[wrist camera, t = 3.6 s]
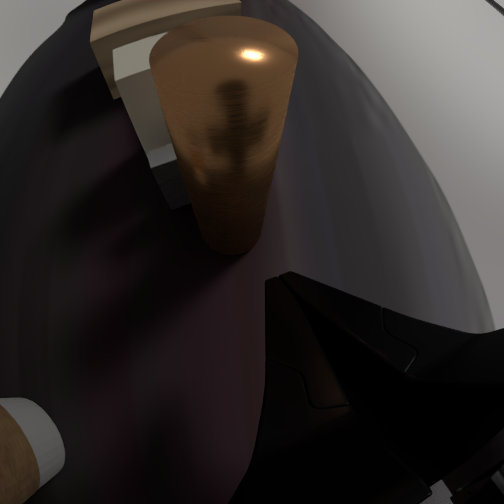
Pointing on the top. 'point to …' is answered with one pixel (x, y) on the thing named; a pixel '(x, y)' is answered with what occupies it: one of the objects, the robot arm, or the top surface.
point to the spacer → (141, 92)
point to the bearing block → (146, 24)
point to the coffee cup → (26, 449)
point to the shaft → (222, 122)
